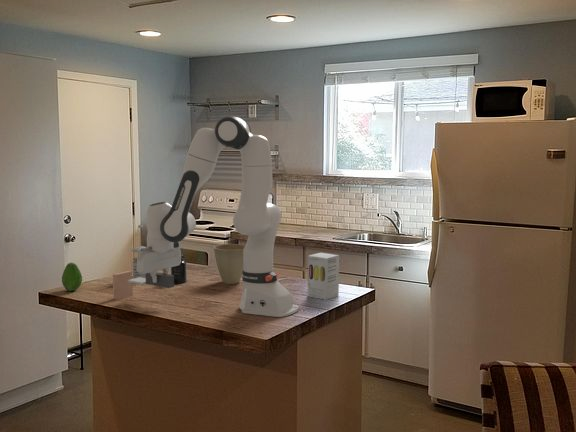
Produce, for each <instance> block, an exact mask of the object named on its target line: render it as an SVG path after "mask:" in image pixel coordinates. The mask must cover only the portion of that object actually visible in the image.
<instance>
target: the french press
mask: <svg viewBox="0 0 576 432" xmlns="http://www.w3.org/2000/svg"><path fill="white" fill-rule="evenodd" d="M137 228H139V231H140V232H139V235H140V237H139V238H140V242H142V237H141V236H142V234H141V232H142V231H141V230H142V229H141V228H143V225H142V224H139V225H138V227H137ZM142 248H147V246H143V245H140V246H136V247H134V248H133V249H131V251H132V253H138V252H139V251H140V250H141V249H142ZM140 252H141V251H140ZM137 258H138V256H137V257H133V259H132V260H133V261H132V263H131V264H132V279H134V278H138V277H141V278H146V274H141V273H138V272H137Z"/></svg>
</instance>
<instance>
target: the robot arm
mask: <svg viewBox="0 0 576 432" xmlns="http://www.w3.org/2000/svg"><path fill="white" fill-rule="evenodd" d="M217 121H218V122H216V124H215V126H214V127H215V128H210V127H202V128H199V129H198V130H197V131H196V132H195V134H194V136H193V138H192V141H191V142H190V145H189V148H188V151H187V153H186V157H185V161H184V165H183V170H182V173H181V178H180V183H179V185H178V188H177V191H176V193H175V196H174V199H173V203H172V204H170V203H169V202H167V201H160V202H155V203H152V204H149V205H148V207H147V210H146V217H145V218H146V219H145V221H146V224H145V225H146V230H147V234H146V247H147V248H142V249H141V250H140V251H141V252H140V251H139V252H137V257H138V258H137V257H136V258H137V272H138V273H140V274H146V273H150V275H151V276H152V278H153V282H154V283H156V282H159V277H157V276H156V274H157V272H158V271H162V273H164V274H169V272H170V269H171V267H174V266H179V265H180V263H181V255H182V251H181V246H182V245H181V241H183V240H184V239H185V238H186V237H188V236H189V235H190V234H191V233H193V232H194V231H195V229H196V225H197V221H196V218H195V216H194V215H193V214H192V213H191V212H190V209H191V207H192V205H193V202H194V199H195V197H196V194H197V192H198V191H199V189H200V188H201V187H202V186H203V185H204V184H205V183H206V182H207V181H208V180H209V179H210V178H211V176H212V174H213V172H214V171H215V168H216V166H217V162H218V158H219V155H220V154H221V151H222V150H223V149H224V148H233V149H235V150H239V153H240V158H241V190H240V191H241V192H240V195H239V197H240V198H239V202H238V206H237V210H236V211H235V213H234V214H233V218H232V223H233V224H232V225H233V227H234V229H235V231H236V232H237V233H238V234H240V235H243V236H247V241H246V244H244V245H245V247H244V250H243V271H242V276H241V279H242V293H241V297H240V298H241V300H240V304H239V305H238V306H239V307H238V308H239V309H240V310H241V313H242V314H246V315H247V314H249V315H256V316H257V315H258V316H266V317H272V318H273V317H274V318H282V317H287V316H290V315H292V314H295V313H297V312H298V311H299V310H300V307H299V306H298V305H295V304H294V301H293V296H292V294H291V291H289V290H288V289H287V288H286V287H284V285H282V283H281V282H279V281H278V278H277V277H279V276H280V272H277V273H276V272H275V270H274V247H275V242H276V237H277V232H278V227H279V224H280V223H281V221H282V212H281V210H280V208H279V207H278V205H276V204H274V203H270V202H268V200H269V196H270V192H271V191H272V188H273V162H272V161H273V159H272V153H271V147H270V142H269V140H268V138H266V137H265V136H263V135H260V134H253V133H252V131H251V127H250V125H249V124H248V123H247V122H246V121H245V119H242V118H241V117H238V116H233V115H228V116H227V115H226V116H224V117H222V118H221V119H219V120H217Z"/></svg>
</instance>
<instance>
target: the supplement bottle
mask: <svg viewBox="0 0 576 432" xmlns="http://www.w3.org/2000/svg"><path fill="white" fill-rule="evenodd" d="M170 275H174V284H183V283H187V279H188V277H187V276H188V275H187V262H186V261H185V256H184V254H181V263H180V265H179V266H174V267H170Z"/></svg>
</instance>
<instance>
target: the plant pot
mask: <svg viewBox="0 0 576 432" xmlns="http://www.w3.org/2000/svg"><path fill="white" fill-rule="evenodd" d="M245 245H246V244H241V243H239V244H237V243H236V244H235V243H226V244H225V243H224V244H223V243H222V244H218V245H215V246H213V252H214V258H215V262H216V267H217V270H218V273H219V277H220V279H221V281H222V283H223V284H226V285H236V284H239V283H240V282H241V279H242V271H243V250H244V247H245Z"/></svg>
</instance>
